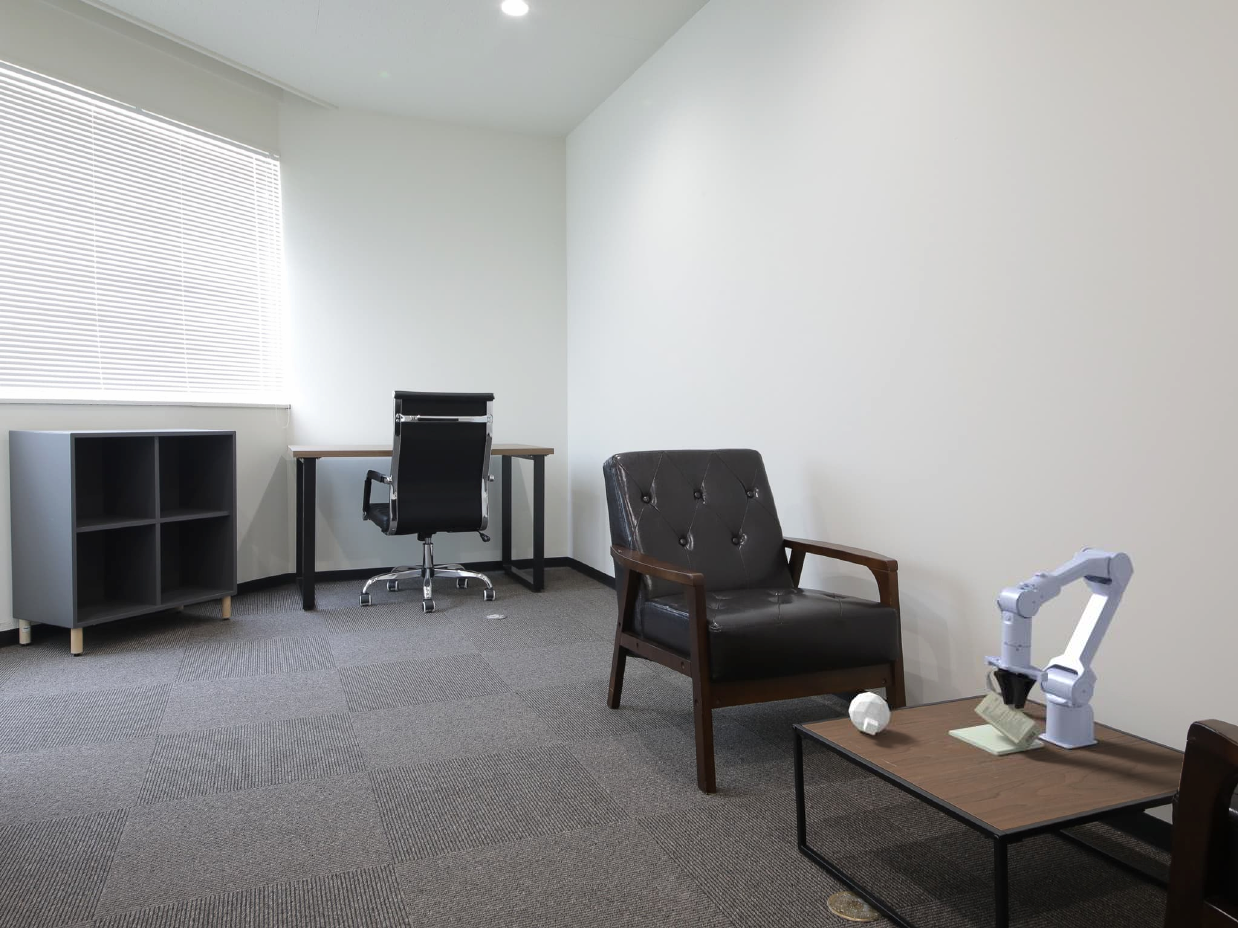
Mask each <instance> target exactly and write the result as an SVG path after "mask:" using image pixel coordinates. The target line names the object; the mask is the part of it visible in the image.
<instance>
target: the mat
mask: <svg viewBox="0 0 1238 928" xmlns="http://www.w3.org/2000/svg"><path fill="white" fill-rule="evenodd" d="M948 735H950V736H952V737H954V738H955V739H957V740H958V739H959V740H961V741H962V742H965V743H968V744H970V745H972V746H974V747H977V748H979V749H981V750H983V751H986V752H988V753H991V754H992V755H995V756H1001V755H1006V754H1007V755H1008V754H1012V753H1017V752H1021V751H1022V752H1023V751H1024V750H1022V749H1021V748H1020V747H1018V746H1017V745H1016V744H1015V743H1013V742H1012V741H1011V740H1010V739H1008V738H1007V737H1006V736H1005V735H1003V734H1002V733H1001V732H999V731H998V730H997V729H996V728H994V727H993V726H992V725H991V724H989V723H988V724H983V725H976V726H970V727H965V728H964V727H963V728H959V729H958V728H957V729H953V730H949V731H948ZM1042 747H1045V742H1043V741H1041V740H1038V739H1037V738H1036V739H1035V741H1034V742H1033V743H1032V744H1031V745H1030V746H1029V747H1028V748H1027V750H1033V749H1037V748H1038V749H1039V748H1042ZM1027 750H1026V751H1027Z"/></svg>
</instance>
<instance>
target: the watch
mask: <svg viewBox="0 0 1238 928" xmlns="http://www.w3.org/2000/svg"><path fill="white" fill-rule="evenodd" d="M993 670H994V671H995V670H998V667H995V666H993V667H992V668H990V669H989V670H988V671H987V672H986V675H985V678H984V679H985V680H984V682H985V685H986V687H987V689H988V691H989V693H990V692H991V691H994V692H995V693H996V694H998V695H999V696H1000V697H1002V698H1003V696H1002V694H999V693H998V692H997V690H996V688H995V686H994V684H993V681H992V679H991V673H992V671H993ZM1011 705H1013V706H1014V703H1013V704H1011Z"/></svg>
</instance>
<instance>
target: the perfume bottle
mask: <svg viewBox="0 0 1238 928" xmlns="http://www.w3.org/2000/svg"><path fill="white" fill-rule="evenodd" d="M848 713H849V716H850V720H851V722H852V724H853V725H854V726H855V727H856V728H857V729H858V730H859V731H862V732H864V733H867V734H868V735H869V734H870V735H871V736H875V734H876V733H880V732H882V731H883V729H884V728H885V727H887V725H888V724H889V721H890V718H891V712H890V709H889V706H888V702H886V700H884V699H883V698H882V697H881V696H880V695H878V694H875V693H873V692H870V691H868V692H863V693H859V694H858V695H857V696H856V697H854V699H852V700H851V702H850V705H849V709H848Z"/></svg>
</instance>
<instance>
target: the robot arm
mask: <svg viewBox="0 0 1238 928" xmlns="http://www.w3.org/2000/svg"><path fill="white" fill-rule="evenodd" d="M1132 563H1133V562H1132V561H1131V558H1130V556H1129V555H1128V554H1127V553H1125V552H1122V551H1121V552H1119V551H1118V552H1115V551H1109V550H1102V549H1097V548H1092V547H1084V548H1082V549H1081V550H1079V551H1076V552H1075V553H1074V556H1073V557H1072V559H1071V560H1069V561H1067V562H1066V563H1065V564H1063V565H1061V566H1059V567H1058V568H1057V569H1055V570H1054V571H1053V572H1051V573H1050V572H1045V571H1043V572H1042V571H1038V572H1036V573H1034V576H1033V577H1031V578H1030V579H1028V580H1025V581H1022V582H1020V583H1019V584H1018V585H1017V586H1008V587H1006V588H1004V589H1002V590H1001V591H1000V592H999V594H998V598H996V605H997V608H998V609H999V614H1000V616H999V617H1000V618H1001V620H1002V623H1001V624H1002V625H1001V627H1002V628H1001V650H1000V654H1001V655H1000V656H995V655H992V654H991V655H990V654H989V655H985V656H984V665H986V666H992V667H998V669H996V670H994V671H993V676H994V677H995V679H996V681H997V683H998V685H999V689H1000V692H1001V695H1002V696H1003V701H1004V704H1005V705H1011V704H1013V703H1014V707H1015V708H1016V709H1018V710H1021V709H1024V708H1025V706H1026V702H1027V699H1028V696H1029V694H1030V691H1031V690H1032V688H1033V687H1034V686H1035V685H1036V683H1037V682H1038V685H1039V688H1040V690H1041V691H1042V692H1043V695H1044V698H1046V721H1045V722H1046V723H1045V725H1046V727H1045V732H1044V733H1041V734H1040V735H1039V736H1038V737H1037V739H1041V740H1044V741H1046V742H1049V743H1051V744H1055V745H1057V746H1059V747H1062V748H1064V749H1067V750H1070V749H1074V748H1081V747H1085V746H1090V745H1095V744H1097V743H1098V741H1097V740H1095V739H1094V738H1095V736H1094V733H1095V732H1094V731H1095V712H1094V710H1093V707H1092V705H1091V704H1090V703H1089V702H1091V700H1092V698H1093V696H1094V692H1095V691H1094V689H1095V684H1096V682H1097V679H1098V678H1097V676H1096V674H1095V672H1094V671H1093V670H1092V668H1091V664H1092V663H1093V660H1094V658H1095V656H1096V653H1098V649H1099V648H1100V645H1101V643H1102V641H1103V639H1104V637H1105V634H1106V633H1107V631H1108V628H1109V627H1110V624H1111V622H1112V620H1113V618H1114V616H1115V615H1116V612H1117V610H1118V607H1119V606H1120V603H1121V602H1122V599H1123V596H1124V593H1125V591H1126V589H1127V587H1128V585H1129V583H1130V580H1131V578H1132V576H1133V574H1134V572H1135V571H1134V567H1133V564H1132ZM1079 579H1083V581H1084V582H1085V584H1086V585H1087V587H1088V588H1089V589H1091V592H1092V595H1091V597H1090V599H1089V602H1088V603H1087V605H1086V607H1085V610H1084V611H1083V614H1082V616H1081V618H1080V620H1079V621H1078V624H1077V627H1076V628H1075V630H1074V633H1073V634H1072V636H1071V638H1070V641H1069V643H1068V644H1067V647H1066V649H1065V651H1064V653H1063V654H1061V655H1059V656H1056V657H1053V658H1051V659H1050V661H1049V663H1048V664H1047V666H1045V668H1044V669H1040V668H1038V667H1036V666H1033V665H1032V664H1031V656H1032V634H1033V632H1032V630H1033V627H1032V626H1033V617H1035V616H1036V615H1037V614H1038V612H1039V610H1040V608H1041V607H1042V606H1043V604H1046V603H1047V602H1049V601H1050V600H1052V599H1054V598H1056V597H1058V596H1059V595H1060V594H1061V591H1062V588H1063V587H1065V586H1067V585H1069V584H1071V583H1073V582H1076V581H1077V580H1079Z"/></svg>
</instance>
